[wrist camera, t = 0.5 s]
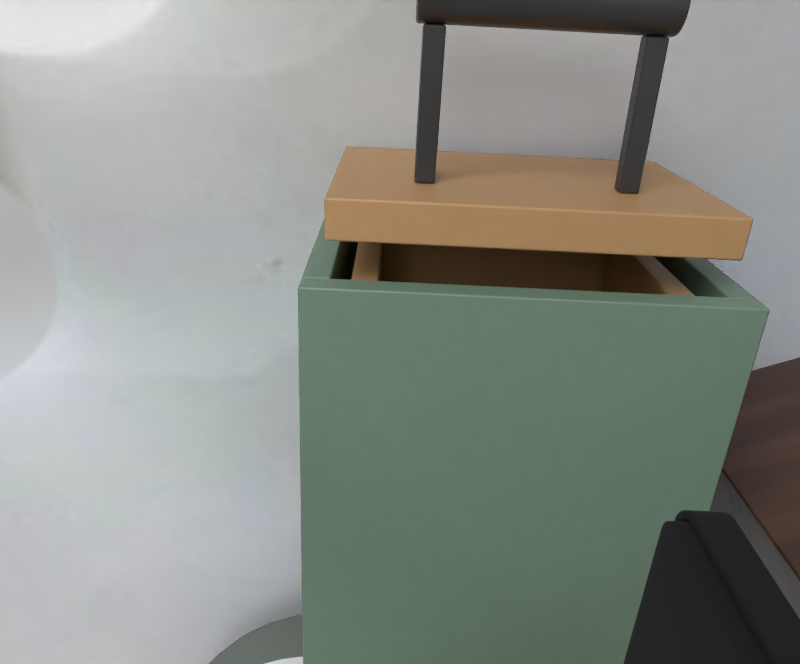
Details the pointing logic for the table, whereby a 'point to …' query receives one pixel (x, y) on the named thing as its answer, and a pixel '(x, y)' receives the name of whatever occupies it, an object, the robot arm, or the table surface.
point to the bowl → (267, 645)
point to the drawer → (531, 182)
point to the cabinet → (502, 457)
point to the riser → (767, 473)
